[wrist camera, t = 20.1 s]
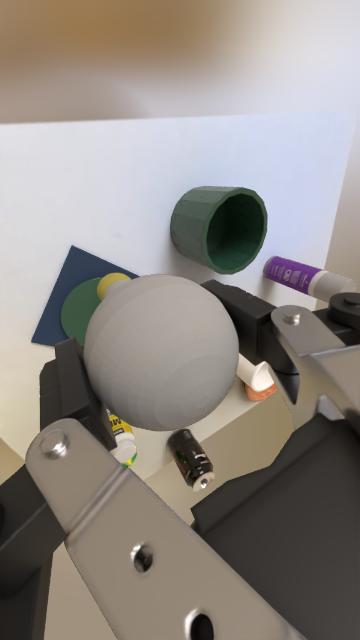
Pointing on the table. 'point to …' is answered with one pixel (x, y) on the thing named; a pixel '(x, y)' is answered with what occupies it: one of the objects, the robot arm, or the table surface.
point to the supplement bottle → (122, 439)
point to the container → (307, 278)
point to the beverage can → (191, 459)
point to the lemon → (129, 461)
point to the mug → (254, 374)
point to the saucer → (260, 393)
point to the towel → (71, 275)
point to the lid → (80, 309)
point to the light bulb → (159, 350)
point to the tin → (220, 227)
